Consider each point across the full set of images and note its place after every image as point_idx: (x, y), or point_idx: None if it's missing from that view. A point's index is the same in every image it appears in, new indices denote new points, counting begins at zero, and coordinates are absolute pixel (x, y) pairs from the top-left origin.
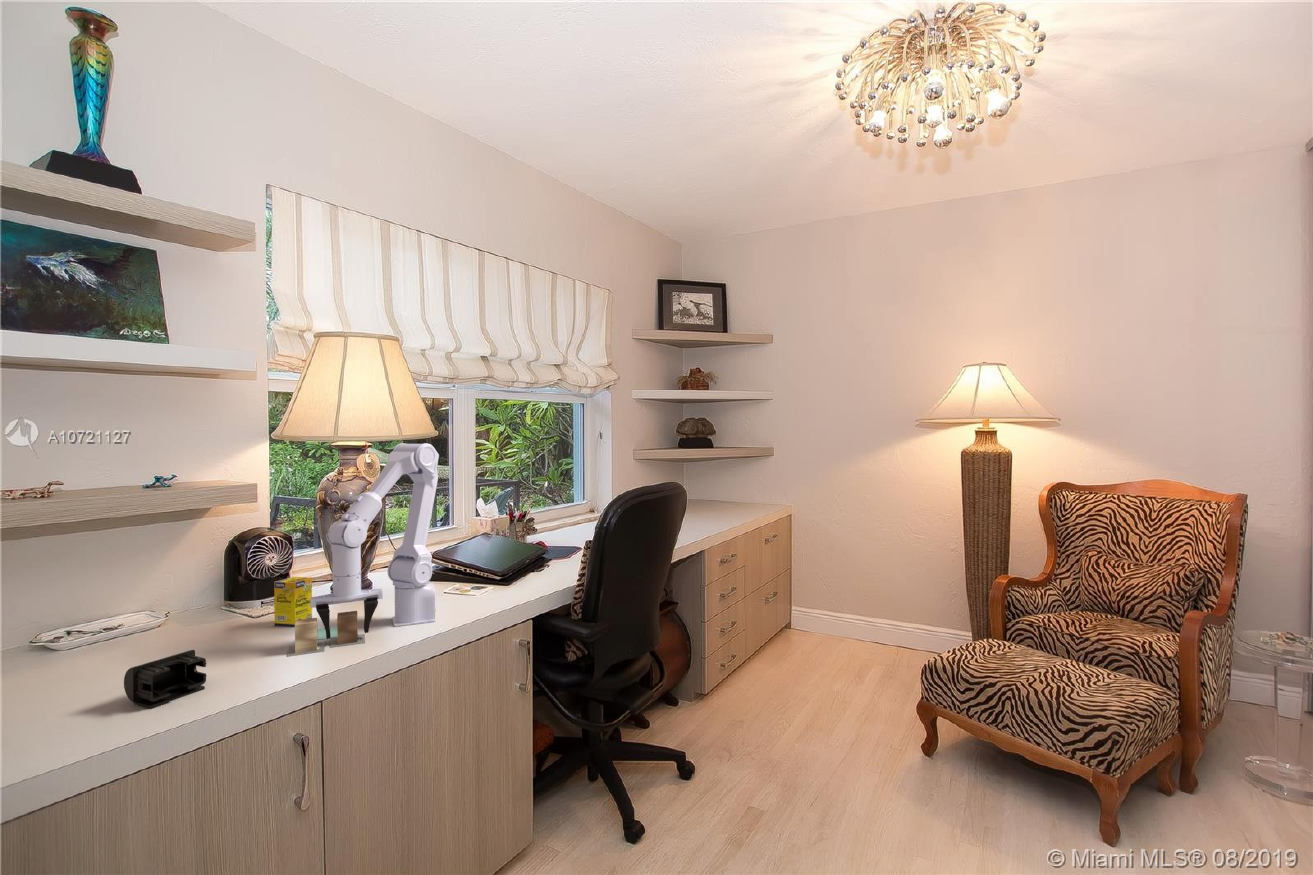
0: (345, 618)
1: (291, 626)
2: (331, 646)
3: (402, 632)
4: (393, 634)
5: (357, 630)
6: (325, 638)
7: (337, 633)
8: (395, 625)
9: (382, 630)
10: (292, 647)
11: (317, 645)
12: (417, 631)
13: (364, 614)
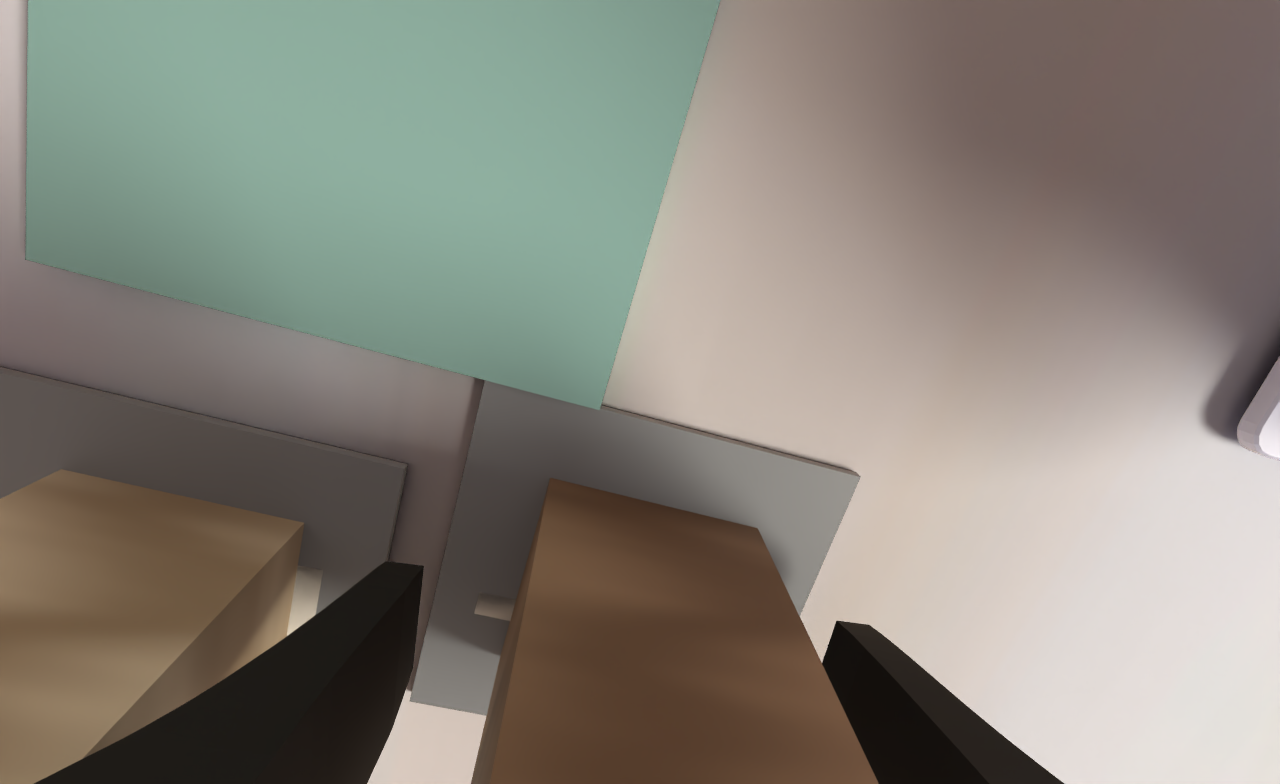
0: None
1: None
2: (433, 673)
3: (1157, 641)
4: (1064, 646)
5: None
6: (422, 357)
7: (474, 770)
8: (1255, 452)
9: (1076, 437)
10: (7, 435)
11: (301, 551)
12: (1257, 698)
13: (986, 778)
